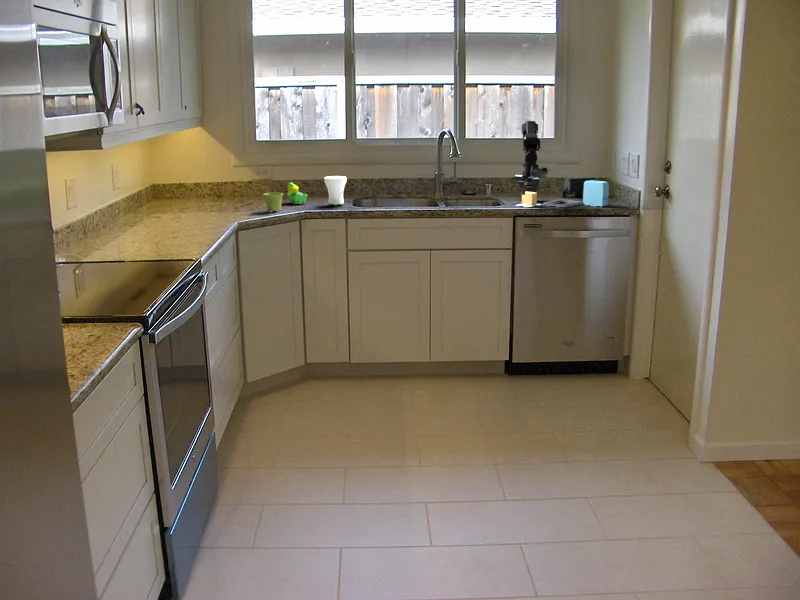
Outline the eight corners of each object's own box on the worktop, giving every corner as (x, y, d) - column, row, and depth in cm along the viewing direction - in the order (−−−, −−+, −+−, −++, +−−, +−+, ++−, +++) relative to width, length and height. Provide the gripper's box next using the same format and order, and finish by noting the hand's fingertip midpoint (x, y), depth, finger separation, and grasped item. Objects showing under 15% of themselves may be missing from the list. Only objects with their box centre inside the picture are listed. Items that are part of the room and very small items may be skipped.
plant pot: (273, 209, 383) (272, 192, 381) (288, 210, 379) (287, 193, 377) (260, 212, 376) (259, 194, 373) (275, 213, 371) (274, 195, 369)
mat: (515, 206, 385) (515, 204, 385) (527, 203, 391) (527, 202, 391) (530, 207, 378) (530, 206, 378) (542, 205, 385) (542, 204, 385)
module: (521, 204, 386) (522, 192, 384) (526, 203, 388) (527, 191, 387) (531, 205, 381) (532, 193, 380) (536, 204, 384) (536, 192, 382)
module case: (543, 205, 385) (543, 202, 384) (561, 202, 396) (561, 199, 395) (563, 208, 377) (563, 205, 376) (581, 204, 387) (582, 201, 387)
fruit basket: (308, 204, 399) (307, 182, 396) (292, 205, 395) (291, 183, 392) (301, 201, 409) (300, 180, 406) (285, 203, 405) (284, 181, 402)
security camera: (558, 196, 415) (559, 178, 413) (589, 195, 420) (590, 176, 417) (564, 198, 409) (565, 179, 406) (595, 196, 413) (597, 178, 410)
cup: (351, 205, 393) (350, 177, 389) (331, 207, 388) (330, 179, 384) (341, 203, 402) (340, 175, 399) (321, 204, 397) (320, 177, 393)
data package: (608, 206, 380) (609, 182, 377) (602, 207, 377) (603, 182, 374) (588, 203, 389) (589, 179, 386) (582, 204, 386) (583, 180, 383)
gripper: (532, 164, 367) (531, 197, 371) (555, 161, 380) (553, 193, 384) (513, 163, 375) (512, 195, 379) (536, 160, 388) (535, 191, 392)
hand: (529, 194), depth 383 cm, fingers open, 9 cm apart
